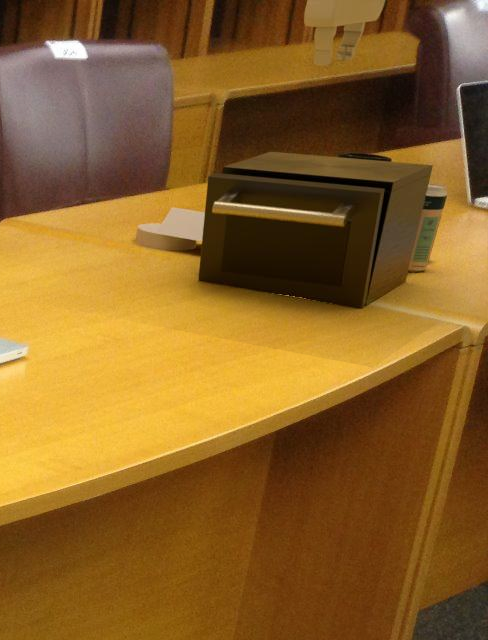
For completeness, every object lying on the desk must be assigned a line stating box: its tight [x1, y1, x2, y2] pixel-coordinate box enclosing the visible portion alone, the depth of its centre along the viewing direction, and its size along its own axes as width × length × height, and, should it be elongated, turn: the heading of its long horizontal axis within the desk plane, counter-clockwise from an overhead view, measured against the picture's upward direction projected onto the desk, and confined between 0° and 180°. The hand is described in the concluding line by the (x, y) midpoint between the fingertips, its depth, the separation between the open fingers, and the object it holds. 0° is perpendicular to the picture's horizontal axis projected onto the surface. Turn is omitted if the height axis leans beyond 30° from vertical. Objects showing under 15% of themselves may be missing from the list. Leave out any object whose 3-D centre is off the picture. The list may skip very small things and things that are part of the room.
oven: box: [221, 151, 434, 307], centre depth 215 cm, size 20×22×16 cm
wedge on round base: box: [134, 206, 205, 251], centre depth 236 cm, size 9×7×13 cm
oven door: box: [197, 172, 385, 309], centre depth 205 cm, size 6×22×16 cm, turn 50°
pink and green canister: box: [408, 183, 448, 273], centre depth 223 cm, size 5×5×12 cm
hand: (333, 63), depth 195 cm, fingers open, 8 cm apart
